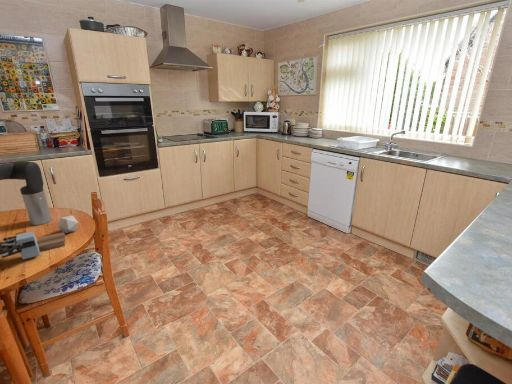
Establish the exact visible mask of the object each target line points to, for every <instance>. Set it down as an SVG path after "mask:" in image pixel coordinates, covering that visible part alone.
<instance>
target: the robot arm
mask: <svg viewBox="0 0 512 384" xmlns="http://www.w3.org/2000/svg"><path fill="white" fill-rule="evenodd" d="M2 180H20V181H25V184H26V185H24V186H21V187H20V189H19V191H20V194H21V198H22V201H23V203H24V206H25V210H26V213H27V216H28V219H29V223H30V225H31V226H41V225H45V224H48V223H49V222H51V221H52V215H51V210H50V208H49V204H48V201H47V198H46V193H45V191H44V179H43V174H42V171H41V168H40V165H39V164H38V163H36V162H34V161H15V162H10V163H3V164H2V163H1V164H0V181H2ZM16 237H17V235H14V236H8V237H3V239H2V241H1V242H0V255H1V258H2V259H3V258H4V259H5V258H6V257H7V258H8V257H10V256H13V255H17V254H21V253H20V252H22V251H21V250H23V249H24V248H28V247H32V246H35V241H30V242H25V243H23V244H22V243H21V244H17V242H16Z"/></svg>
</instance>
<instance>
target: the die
mask: <svg viewBox="0 0 512 384" xmlns="http://www.w3.org/2000/svg"><path fill="white" fill-rule="evenodd" d="M78 224H79V221H78V220H77V219H76V218H75V216H74V215H68V216H62V217H60V218H59V222H58V225H57V228H58V229H59V230H60V231H61V233H62V232H64V234H65V235H66V234H70V233H73V232H74V233H75V232H76V231H77V228H78V226H79V225H78Z"/></svg>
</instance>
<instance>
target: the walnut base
mask: <svg viewBox="0 0 512 384" xmlns="http://www.w3.org/2000/svg"><path fill="white" fill-rule="evenodd" d="M36 241H37V244H38V247H39V253H41V252H46V251H49V250H53V249H57V248H61V247H65V246H66V233H65V234H64V232H62V231H61V232H57V233H55V234H54V233H53V234H49V235H44V236H40V237H37V240H36Z"/></svg>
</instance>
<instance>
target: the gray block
mask: <svg viewBox="0 0 512 384" xmlns="http://www.w3.org/2000/svg"><path fill="white" fill-rule="evenodd" d="M16 236H17V237H16V238H15V239H16V242H17V244H21V243H22V244H23V243H25V242H30V241H35V246H32V247H28V248H24V249H23V250H21V251H22V252H20V253H19V254H20V256H21V258H22V260H26V259H30V258H33V257H38V256H40V252H39V247H38V244H37V241H38V240H37V238H36V234H35V232H34V230H33V231H29V232H28V231H27V232H24V233H19V234H16Z"/></svg>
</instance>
